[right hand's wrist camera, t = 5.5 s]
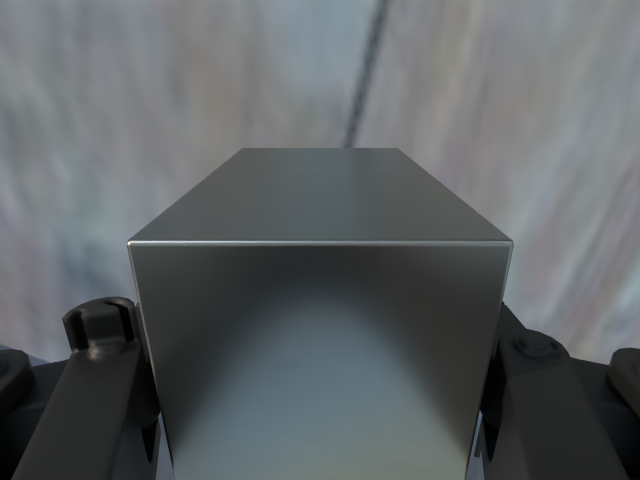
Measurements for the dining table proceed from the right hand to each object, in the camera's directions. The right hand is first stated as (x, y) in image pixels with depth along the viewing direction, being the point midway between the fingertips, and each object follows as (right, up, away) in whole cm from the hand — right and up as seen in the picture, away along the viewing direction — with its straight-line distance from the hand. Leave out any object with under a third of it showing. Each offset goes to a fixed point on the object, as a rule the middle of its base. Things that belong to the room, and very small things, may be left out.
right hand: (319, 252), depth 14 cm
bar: (0, -8, +4) cm, 9 cm away
